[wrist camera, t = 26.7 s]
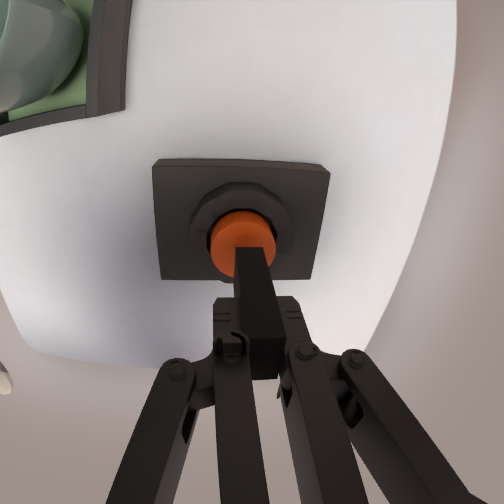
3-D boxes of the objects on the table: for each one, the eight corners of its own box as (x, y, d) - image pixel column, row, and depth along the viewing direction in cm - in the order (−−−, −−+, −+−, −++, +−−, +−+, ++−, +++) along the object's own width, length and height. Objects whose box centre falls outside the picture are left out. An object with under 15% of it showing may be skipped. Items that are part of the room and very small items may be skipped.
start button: (211, 263, 20) (210, 278, 19) (211, 209, 18) (210, 221, 17) (268, 263, 21) (272, 278, 19) (274, 211, 19) (279, 222, 17)
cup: (119, 21, 13) (43, -22, 4) (64, 118, 15) (-31, 153, 7) (47, -4, 10) (-36, -29, 1) (1, 85, 12) (-90, 106, 4)
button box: (165, 264, 24) (157, 294, 20) (158, 159, 19) (145, 174, 16) (303, 265, 25) (316, 293, 22) (320, 164, 21) (341, 180, 17)
